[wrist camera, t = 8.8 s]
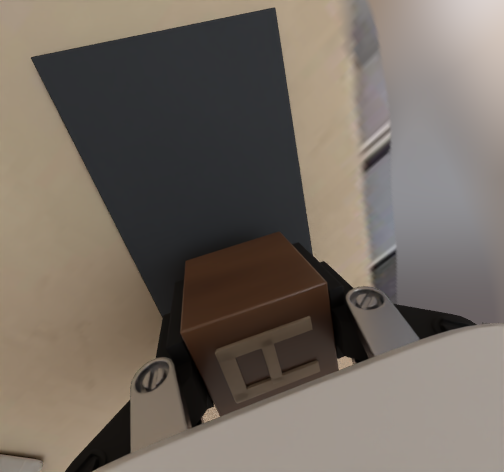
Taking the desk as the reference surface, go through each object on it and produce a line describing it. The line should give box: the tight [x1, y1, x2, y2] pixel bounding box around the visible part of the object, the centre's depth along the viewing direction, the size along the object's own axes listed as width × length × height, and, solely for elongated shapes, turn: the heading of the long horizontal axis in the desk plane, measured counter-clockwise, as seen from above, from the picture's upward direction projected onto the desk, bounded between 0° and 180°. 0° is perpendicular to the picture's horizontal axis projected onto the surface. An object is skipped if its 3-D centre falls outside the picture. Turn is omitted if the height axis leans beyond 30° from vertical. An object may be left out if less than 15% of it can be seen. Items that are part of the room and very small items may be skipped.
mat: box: [31, 8, 313, 318], centre depth 15 cm, size 22×10×1 cm, turn 14°
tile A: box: [180, 232, 339, 417], centre depth 10 cm, size 4×4×5 cm
